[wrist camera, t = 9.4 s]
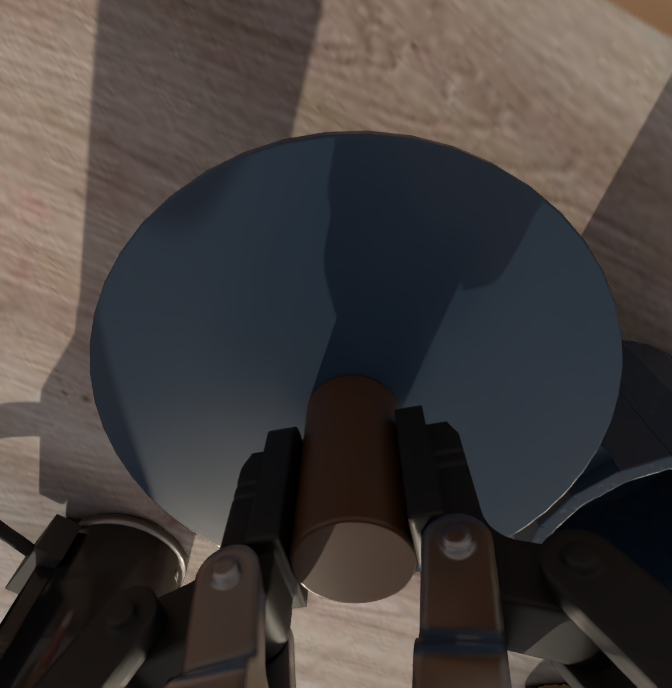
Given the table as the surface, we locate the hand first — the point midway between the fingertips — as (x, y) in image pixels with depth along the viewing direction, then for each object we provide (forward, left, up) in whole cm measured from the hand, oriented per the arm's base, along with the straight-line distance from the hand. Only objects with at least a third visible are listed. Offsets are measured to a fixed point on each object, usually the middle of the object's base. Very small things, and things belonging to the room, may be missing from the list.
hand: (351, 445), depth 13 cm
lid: (0, 0, -2) cm, 2 cm away
